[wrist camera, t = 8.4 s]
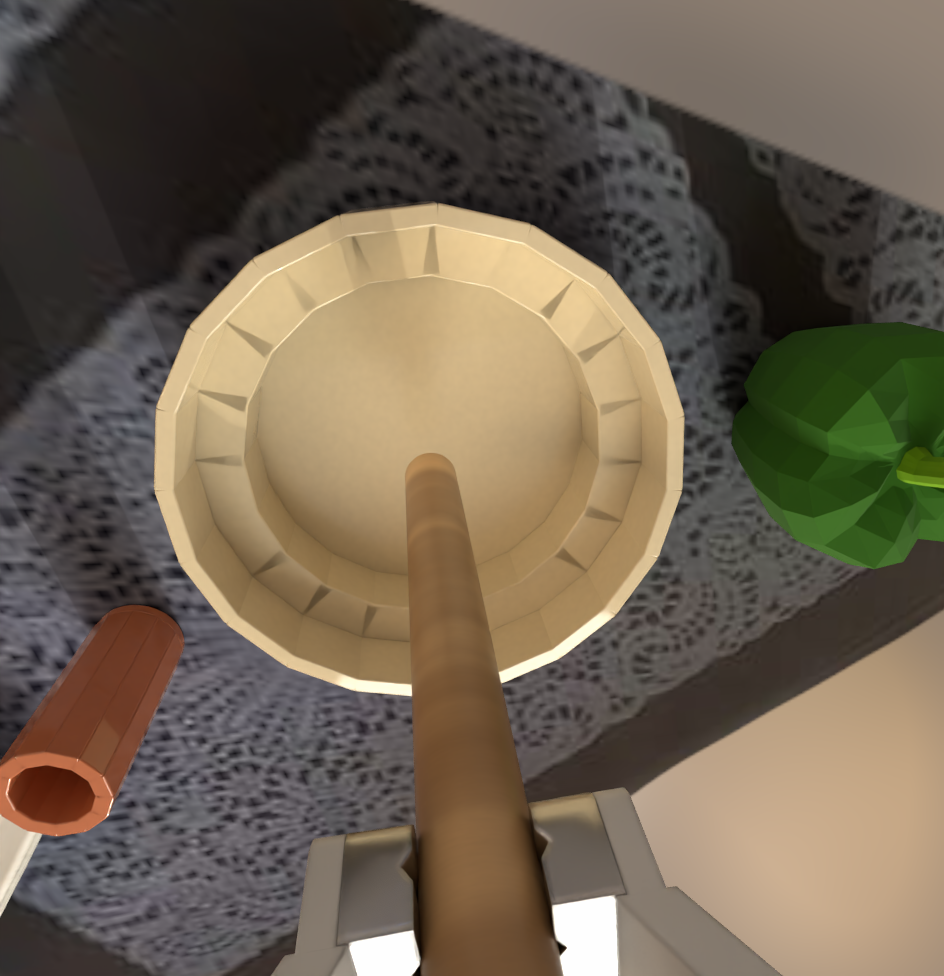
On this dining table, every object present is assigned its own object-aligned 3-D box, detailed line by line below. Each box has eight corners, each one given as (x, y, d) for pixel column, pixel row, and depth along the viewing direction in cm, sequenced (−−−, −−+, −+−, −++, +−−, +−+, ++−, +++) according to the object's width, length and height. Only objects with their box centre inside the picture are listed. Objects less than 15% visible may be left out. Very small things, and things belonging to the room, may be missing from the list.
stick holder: (82, 611, 29) (-32, 764, 21) (170, 598, 29) (89, 744, 21) (111, 679, 30) (15, 844, 23) (195, 666, 31) (127, 825, 23)
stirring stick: (401, 455, 23) (420, 1444, 5) (452, 448, 23) (663, 1389, 5) (409, 501, 24) (451, 1511, 5) (458, 494, 24) (660, 1464, 6)
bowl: (146, 234, 23) (69, 247, 18) (624, 176, 24) (692, 171, 19) (263, 632, 30) (234, 728, 25) (629, 576, 31) (678, 657, 26)
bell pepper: (845, 497, 31) (1035, 625, 22) (680, 482, 29) (808, 611, 20) (918, 314, 27) (1178, 374, 18) (735, 288, 26) (918, 339, 17)
